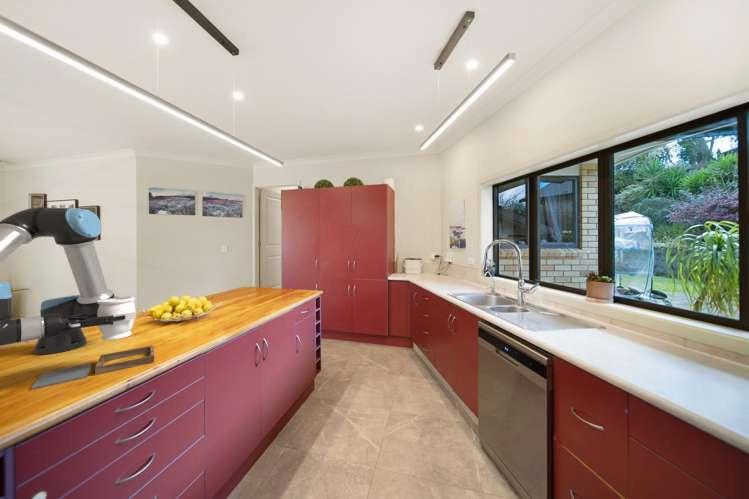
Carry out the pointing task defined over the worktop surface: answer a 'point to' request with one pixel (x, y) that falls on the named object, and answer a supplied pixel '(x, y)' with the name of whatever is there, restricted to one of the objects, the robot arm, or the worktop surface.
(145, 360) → the brown rectangular frame
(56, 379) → the mat
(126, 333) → the jar
